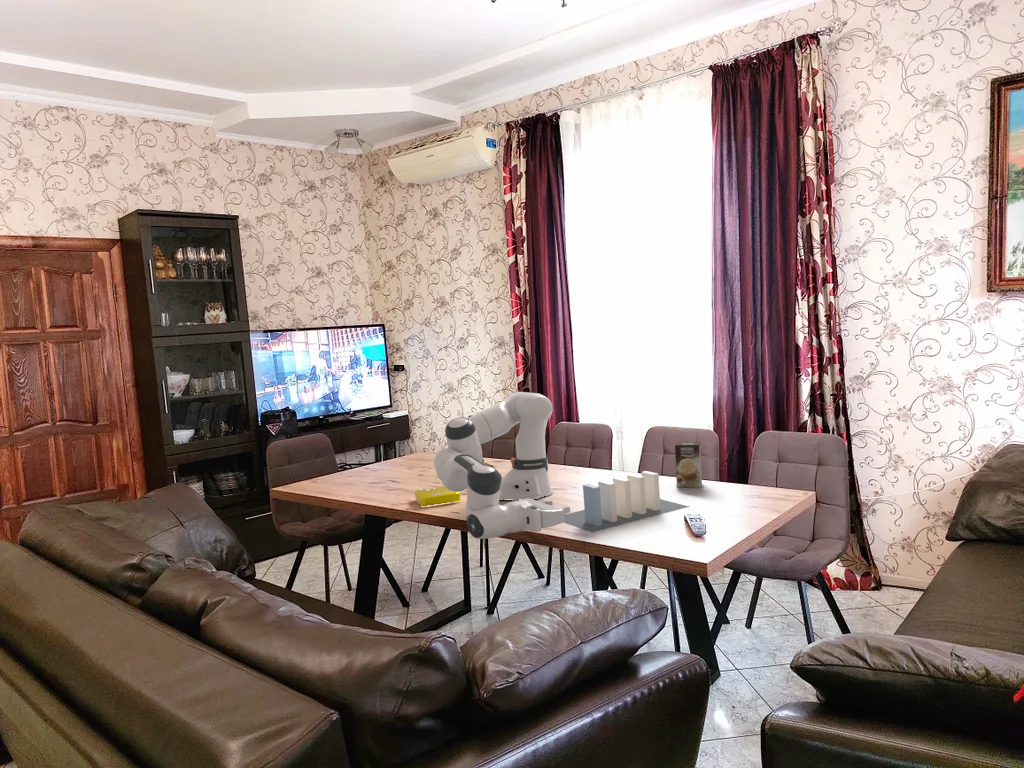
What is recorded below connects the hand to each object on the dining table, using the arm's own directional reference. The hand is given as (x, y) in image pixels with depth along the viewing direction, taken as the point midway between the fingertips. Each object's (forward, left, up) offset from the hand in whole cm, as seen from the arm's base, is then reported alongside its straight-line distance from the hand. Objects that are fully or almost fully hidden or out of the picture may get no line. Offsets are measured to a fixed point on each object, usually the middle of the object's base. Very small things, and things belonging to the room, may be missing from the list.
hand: (559, 506), depth 211 cm
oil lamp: (-25, +90, -9) cm, 94 cm away
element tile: (-42, +55, -10) cm, 70 cm away
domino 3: (+26, +15, -8) cm, 31 cm away
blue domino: (+11, +6, -8) cm, 14 cm away
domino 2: (+21, +12, -8) cm, 25 cm away
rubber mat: (+21, +16, -9) cm, 28 cm away
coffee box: (+53, +48, -9) cm, 72 cm away
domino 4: (+32, +18, -8) cm, 37 cm away
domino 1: (+16, +9, -8) cm, 20 cm away
